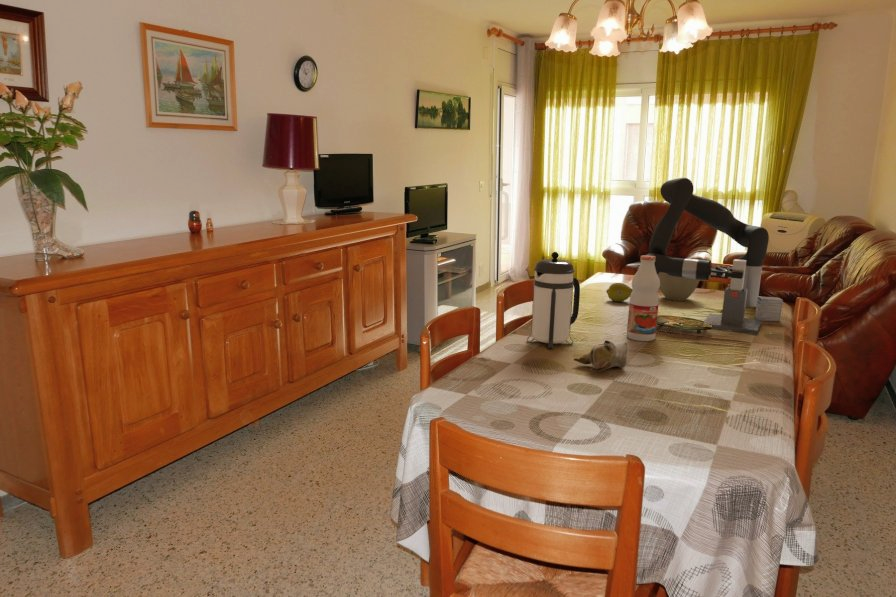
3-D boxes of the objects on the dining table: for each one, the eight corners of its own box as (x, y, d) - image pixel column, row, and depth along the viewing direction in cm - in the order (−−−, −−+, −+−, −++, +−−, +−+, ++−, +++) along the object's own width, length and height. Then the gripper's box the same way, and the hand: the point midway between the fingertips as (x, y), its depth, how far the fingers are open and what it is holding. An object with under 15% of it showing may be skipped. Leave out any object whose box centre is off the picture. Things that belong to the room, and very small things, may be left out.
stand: (702, 327, 237) (706, 290, 234) (709, 317, 252) (713, 282, 249) (756, 334, 228) (761, 297, 225) (760, 323, 243) (765, 288, 240)
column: (725, 319, 239) (732, 260, 234) (727, 316, 242) (734, 259, 238) (738, 320, 237) (745, 261, 232) (739, 318, 240) (746, 260, 235)
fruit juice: (644, 333, 226) (652, 253, 220) (661, 340, 217) (669, 258, 211) (621, 335, 223) (627, 254, 217) (636, 342, 215) (644, 258, 209)
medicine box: (775, 319, 251) (778, 297, 249) (780, 322, 247) (783, 299, 245) (754, 318, 252) (757, 296, 250) (758, 321, 248) (761, 298, 246)
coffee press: (576, 352, 203) (582, 256, 196) (524, 347, 206) (529, 254, 199) (576, 337, 219) (582, 249, 213) (529, 333, 223) (533, 246, 216)
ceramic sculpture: (638, 342, 184) (593, 349, 179) (637, 371, 186) (592, 379, 181) (616, 332, 193) (572, 339, 188) (615, 360, 195) (572, 368, 190)
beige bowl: (645, 295, 289) (648, 268, 286) (680, 293, 294) (683, 267, 292) (670, 304, 272) (673, 275, 269) (706, 302, 277) (710, 274, 275)
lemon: (603, 301, 274) (605, 283, 272) (607, 298, 281) (609, 280, 279) (629, 304, 269) (631, 286, 268) (633, 301, 276) (635, 282, 275)
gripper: (694, 261, 236) (743, 266, 228) (700, 256, 248) (747, 261, 240) (692, 282, 237) (740, 287, 230) (698, 276, 249) (744, 281, 242)
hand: (743, 273), depth 235 cm, fingers open, 8 cm apart
